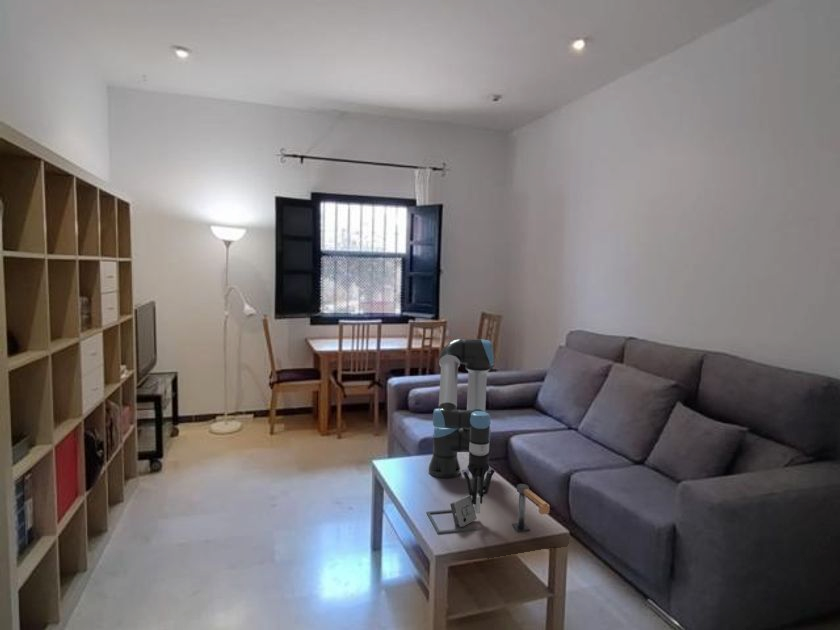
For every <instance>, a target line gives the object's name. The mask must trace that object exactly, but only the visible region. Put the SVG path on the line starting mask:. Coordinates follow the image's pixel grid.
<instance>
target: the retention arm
mask: <svg viewBox="0 0 840 630" xmlns="http://www.w3.org/2000/svg"><path fill="white" fill-rule="evenodd" d="M516 492H517V493H518V494H519V493H522V494H525V495H526V498H529V500H531V501H532V502H534V503H535V504H536V505H537V506H538V513H539V514H540V515H546V514H550V507H551V506H550V504H549V503H547V502H546V501H545V500H544V499H542V498H541V497H540V496H538V495H537V494H536V493H534V492H533V491H532V490H531V489H530V486H529V485H527V484H524V483H518V484H516Z"/></svg>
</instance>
